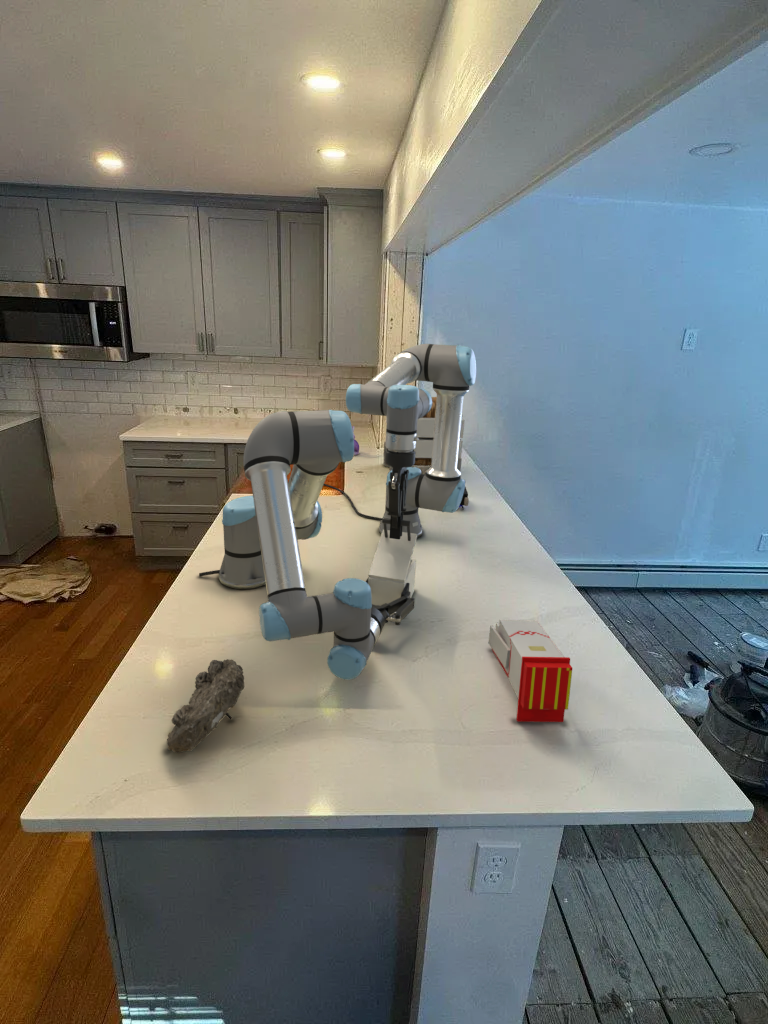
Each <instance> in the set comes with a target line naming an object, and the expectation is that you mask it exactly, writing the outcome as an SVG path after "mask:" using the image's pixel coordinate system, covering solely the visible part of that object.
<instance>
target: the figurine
mask: <svg viewBox="0 0 768 1024" xmlns="http://www.w3.org/2000/svg"><path fill="white" fill-rule="evenodd" d="M352 430H353V437H354V455H353V456H356V455H359V453H360V444H359V442H358V441H357V440H356V435H355V433H354V431H355V425H352Z"/></svg>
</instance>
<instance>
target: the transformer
mask: <svg viewBox="0 0 768 1024" xmlns="http://www.w3.org/2000/svg"><path fill="white" fill-rule="evenodd" d="M431 397H432V407H431V409H430V411H429V412H428V413H427V414H426V415H425V416H424V417H421V418H419V419H418V420H417V433H416V437H418V439H419V440H418V441H416V448H415V449H414V451H415V464H414V465H413V466H412V467H417V466H418V467H431V462H432V450H433V437H434V424H435V411H436V399H437V396H431ZM385 423H386V424H387V416H385ZM386 429H387V425H386V428H385V430H386ZM464 429H465V419H464V418H462V419H461V430H460V440H459V451H458V461H457V469H458V470H459V471H460V473H461V472H462V461H463V460H462V453H463V442H464V441H463V440H462V439H463V438H464V431H465V430H464ZM385 444H386V437H385V438H384V442H383V466H384V467H388V468H389V472H390V471H391V470H393V468H392V467H391V466H388V465H387V464H386V463H385V450H386V449H387V448H386V447H385ZM461 474H462V473H461Z"/></svg>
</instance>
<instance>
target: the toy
mask: <svg viewBox="0 0 768 1024" xmlns="http://www.w3.org/2000/svg"><path fill="white" fill-rule="evenodd" d="M488 646H490V648H491V651H492V653H493V655H494V656H495V658H496V660H497V661H498V663H499V665H500V666H501V668H502V670H503V672H504V673H505V676H506V678H508V681H509V683H510V685H511V687H512V689H513V692H514V694H515V695H516V697H517V708H516V709H517V710H516V722H519V723H520V722H521V723H522V722H523V723H525V722H526V723H564V720H565V712H566V710H569V704H570V703H569V702H570V695H571V685H572V677H573V667H572V665H571V658H570V657H568V656H567V657H566V656H564V654H563V653H562V652H561V650H560V649H559V648H558V646H557V645H556V644H555V642H554V641H553V640H552V638H551V637H550V636H549V634H548V633H547V631H546V630H545V629H544V626H543V625H541V624H540V622H539V620H536V619H535V620H531V619H528V620H527V619H499V620H498V622H495V626H494V625H490V627H489V635H488Z"/></svg>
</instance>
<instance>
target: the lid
mask: <svg viewBox="0 0 768 1024" xmlns="http://www.w3.org/2000/svg"><path fill="white" fill-rule="evenodd" d="M382 518H383V517H382ZM381 522H382V523H383V524H384V530H383V531H382V534H380V537H379V541H378V544H377V547H376V550H375V552H374V556H373V558H372V562H371V564H370V568H369V571H368V574H367V575H368V577H370V578H377V579H383V580H390V581H396V582H403V583H405V580H406V576H407V572H408V569H409V565H410V561H411V559H412V557H413V554H414V549H415V547H416V543H417V539H418V538H417V534H413V533H410V525H411V521H405V520H401V526H407V533H406V532H402V536H400V540H399V539H392V538H390V530H387V524H390V518H383V520H381ZM368 577H367V578H368Z"/></svg>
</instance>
